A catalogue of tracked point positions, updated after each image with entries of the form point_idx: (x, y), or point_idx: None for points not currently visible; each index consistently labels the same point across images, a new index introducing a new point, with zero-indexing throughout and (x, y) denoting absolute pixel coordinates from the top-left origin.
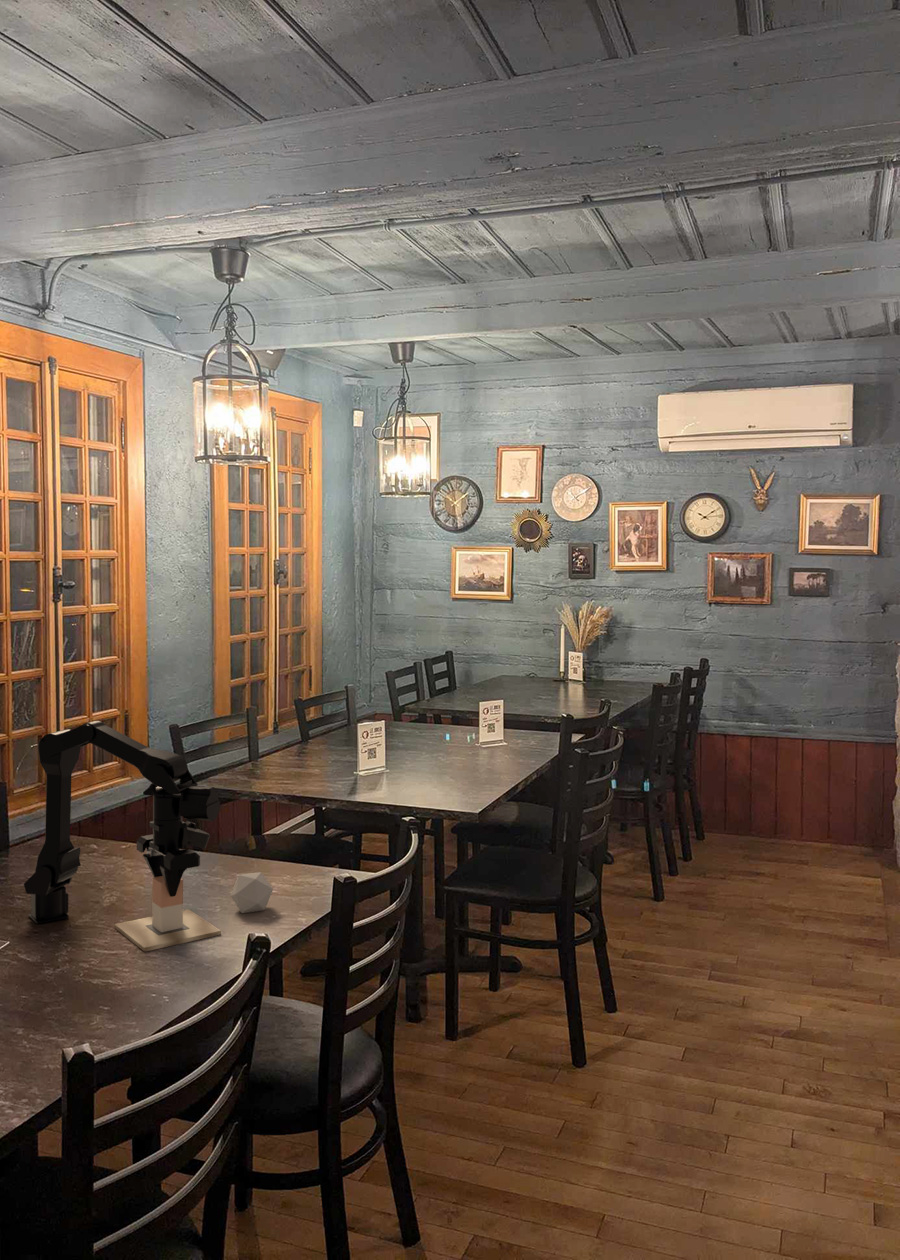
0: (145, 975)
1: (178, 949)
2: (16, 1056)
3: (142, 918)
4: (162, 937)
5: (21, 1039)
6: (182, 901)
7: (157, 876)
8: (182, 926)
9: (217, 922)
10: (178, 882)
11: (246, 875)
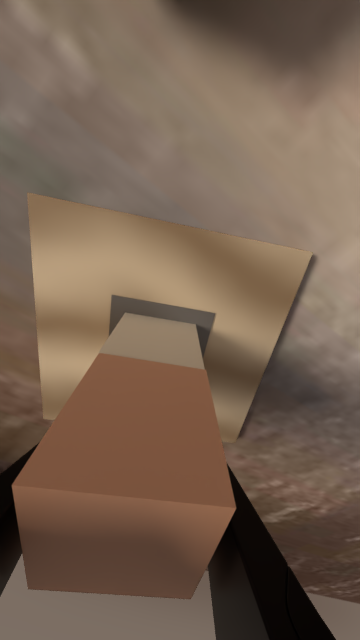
0: (325, 476)
1: (283, 387)
2: (355, 600)
3: (39, 357)
4: (214, 393)
5: (330, 591)
6: (206, 378)
7: (11, 565)
8: (195, 326)
9: (205, 178)
10: (276, 556)
11: None
